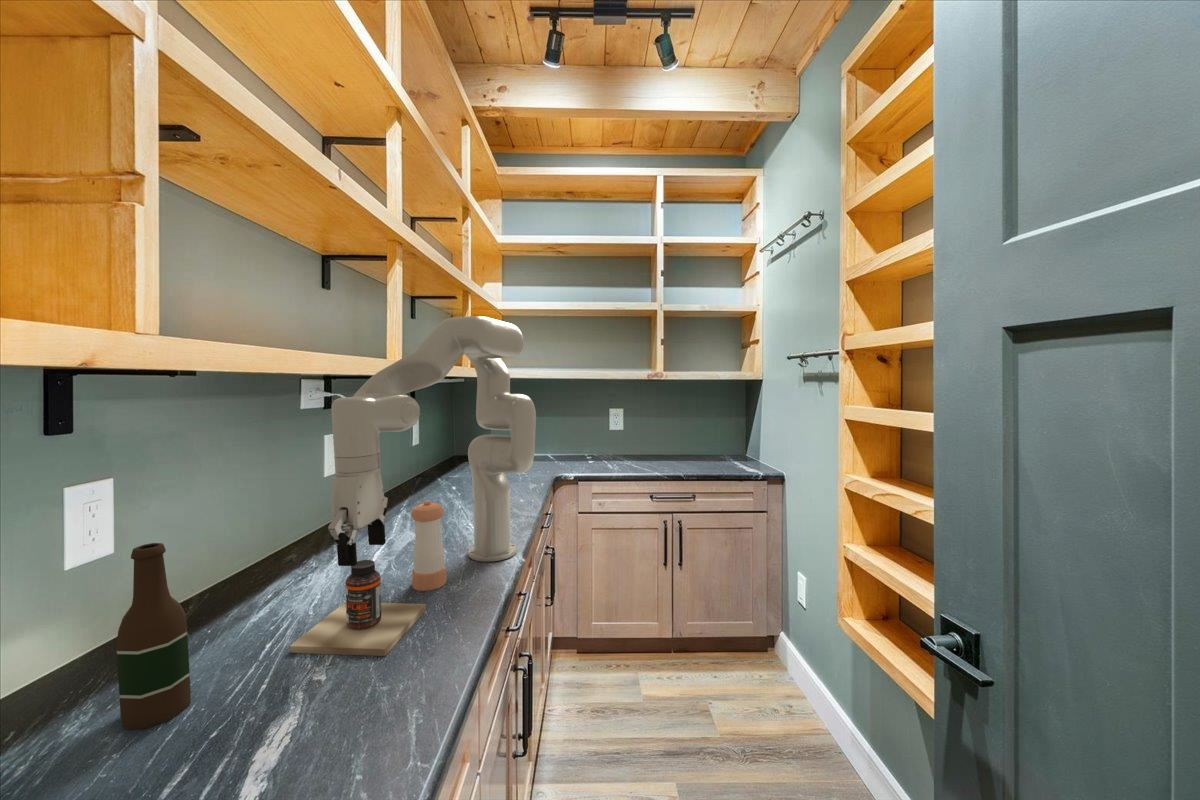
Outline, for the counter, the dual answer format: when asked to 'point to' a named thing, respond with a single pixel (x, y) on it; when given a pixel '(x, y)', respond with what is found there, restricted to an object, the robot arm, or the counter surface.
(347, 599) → the supplement bottle
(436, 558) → the pepper shaker
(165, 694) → the beer bottle
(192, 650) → the counter surface
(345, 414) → the robot arm
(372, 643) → the birch board
